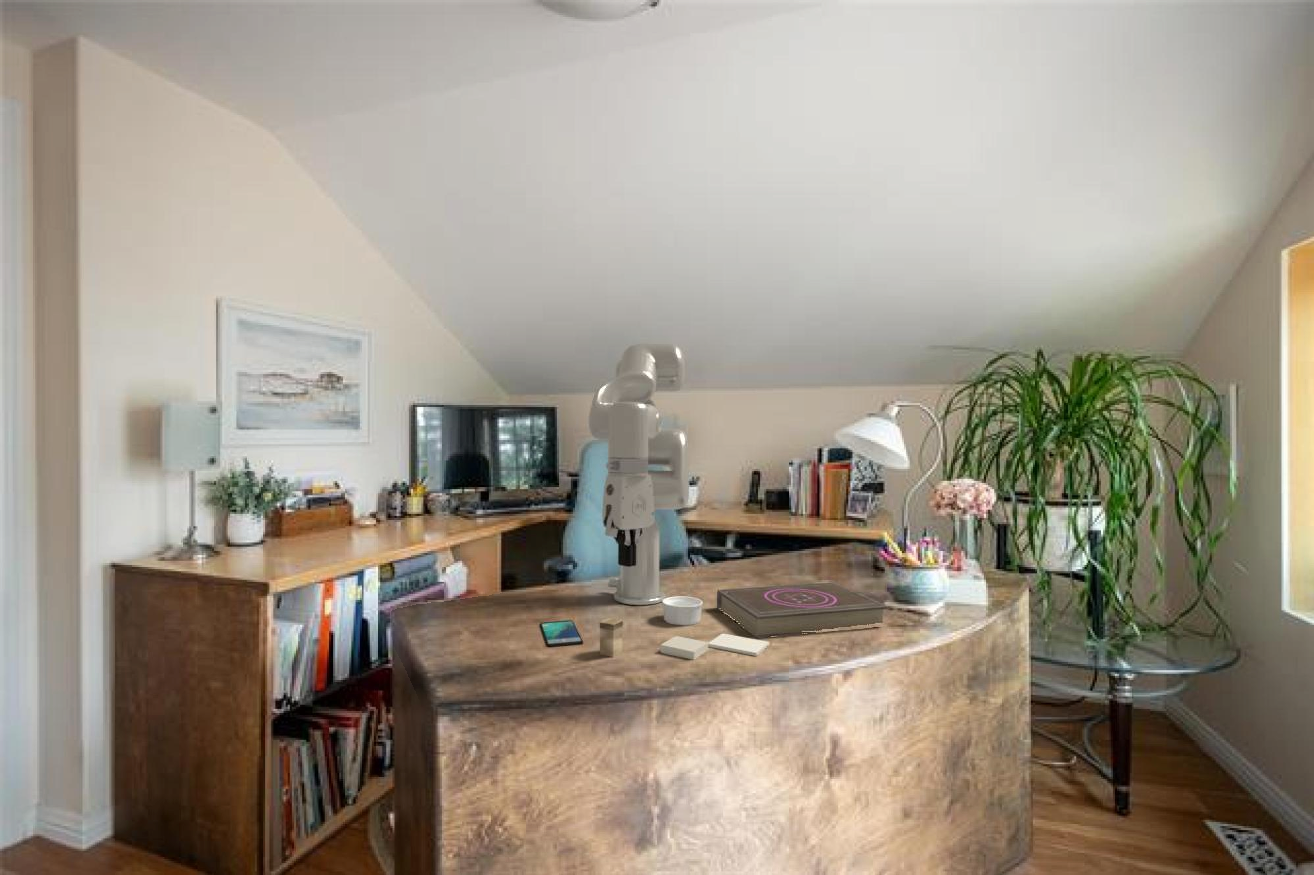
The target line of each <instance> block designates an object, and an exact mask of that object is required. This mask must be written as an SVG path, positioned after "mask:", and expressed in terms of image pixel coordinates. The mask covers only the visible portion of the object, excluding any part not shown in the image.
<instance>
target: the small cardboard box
mask: <svg viewBox="0 0 1314 875" xmlns="http://www.w3.org/2000/svg"><path fill="white" fill-rule="evenodd" d="M623 626H624V621H623V619H617V618H613V617H612V618H611V617H608V618H605V619H603V620H602V621H600V622H599V655H602V656H607V657H612V658H614V657H616V656H618V655H619V654H621V653H623Z"/></svg>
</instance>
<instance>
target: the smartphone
mask: <svg viewBox="0 0 1314 875" xmlns="http://www.w3.org/2000/svg"><path fill="white" fill-rule="evenodd" d="M539 627H540V630H541V633H542V636H543V639H544V642H545V645H546V647H547V648H556V647H557V648H559V647H560V648H561V647H569V646H572V647H573V646H582V645H583V644H584V641H583V638H582V636H581V634H580V633H579V631H578V628H577V626H576V625H575V622H574V621H573V620H572V619H571V620H570V619H568V620H567V619H566V620H555V621H554V620H553V621H544V622H540V623H539Z"/></svg>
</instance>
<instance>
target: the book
mask: <svg viewBox="0 0 1314 875" xmlns="http://www.w3.org/2000/svg"><path fill="white" fill-rule="evenodd" d="M717 608H718V609H719V608H721V609H719V610H723V611H722V612H725V613H727V614H728V615H730V616H731V617H732V618H733V619H735V620H734V621H738V622H737V623H740V624H739V625H741V626H742V627H744V629H743V630H745V629H746V630H747V631H748V632H747V631H746V630H745V631H746V632H747V633H749V634H750V633H751V634H752V635H751V634H750V635H751V636H753V635H754V636H755V637H756V638H755V637H754V636H753V637H754V638H755V639H757V638H761V639H766V638H765V637H771V636H783V637H786V636H785V635H794V636H798V635H797V634H802V633H803V634H804V633H815V634H817V633H816V632H802V631H815V630H816V631H817V630H818V631H819V630H822V629H834V628H838V627H851V626H857V625H867V624H868V625H869V624H875V623H883V624H884V621H883V620H884V617H883V614H884V610H888V609H889V606H888V605H887V604H884V603H882V602H879V601H877V600H876V599H873V598H870V597H868V596H866V595H863V594H861V593H858V592H856V591H854V590H852V589H850V588H848V587H845V586H842V585H841V584H837V583H836V582H819V583H817V582H814V583H802V584H789V585H788V584H787V585H785V584H784V585H772V586H757V587H755V586H754V587H743V588H727V589H726V588H725V589H717V592H716V609H717ZM718 609H717V610H718ZM719 610H718V611H719ZM722 612H721V613H722ZM730 616H729V617H730ZM729 617H728V618H729ZM734 621H733V622H734ZM737 623H736V624H737ZM739 625H738V626H739ZM741 626H740V627H741ZM742 627H741V628H742Z"/></svg>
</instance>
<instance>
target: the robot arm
mask: <svg viewBox="0 0 1314 875" xmlns="http://www.w3.org/2000/svg"><path fill="white" fill-rule="evenodd" d="M621 357H622V358H621V359H620V360H619V361H618V362H617V363H616V367H615V377H614V378H612V379H611V380H609V381H608V382H607V381H606V383H604V384H603V385H601V386H600V387H599V388H597V390H596V391H595V393H594V395H593V397H592V398H593V399H592V402H591V405H590V409H589V416H588V428H589V433H590V434H591V436H592V437H593V438H594V439H595V440H599V441H607V444H608V446H607V448H608V451H607V463H606V465H605V467H606V468H607V475H606V477H605V480H604V481H605V483H604V488H603V497H602V524H603V527H604V528H605V532H604V535H605V536H606V537H611V538H613V539H614V540H615V544H617V546H618V548H617V552H618V554H617V561H618V562H617V565H618V566H620V578H618V577H612V576H611V577H610V578H609V581H608V584H607V586H608V587H611V588H615V589H616V591H615V592H614V594H613V599H614V600H615V601H616V602H618V603H620V604H624V605H625V604H627V605H633V606H644V605H645V606H646V605H654V604H659V603H660V602H661V603H662V601H663V600H664V599H665V598H666V593H665V592H664V591H663V590H660V526H659V523H658V522H657V520H656V519H655V510H682V509H684V508H685V507H686V506H687V504H688V501H689V496H690V451H689V441H688V437H687V435H686V432H684V431H683V430H681V429H678V428H662V426H661V425H662V418H661V413H660V410H659V408H658V407H657V405H656V404H655V402H654V401H653V399H652V397H653V396H654V394H655V392H677V391H680V390H681V389H682V388H683V387H684V383H685V381H686V380H685V379H686V365H685V364H686V363H685V362H686V361H685V357H684V353H683V351H682V349H681V348H680V347H679V346H678V345H676V344H673V343H636V344H632V345H630V346H629V347H627V348H626V349H625V350H624V352H623V354H622V356H621ZM649 467H664V468H665V467H667V468H669V470H654V469H653V470H651V469H649Z"/></svg>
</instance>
